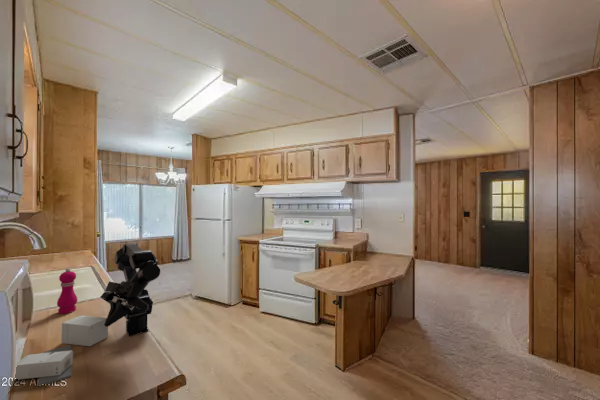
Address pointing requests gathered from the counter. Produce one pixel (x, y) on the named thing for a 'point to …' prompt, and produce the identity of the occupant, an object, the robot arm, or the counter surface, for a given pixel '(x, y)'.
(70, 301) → the pepper mill
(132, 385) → the counter surface
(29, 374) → the skincare box
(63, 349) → the rubber mat
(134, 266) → the robot arm
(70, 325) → the supplement box
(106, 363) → the counter surface
